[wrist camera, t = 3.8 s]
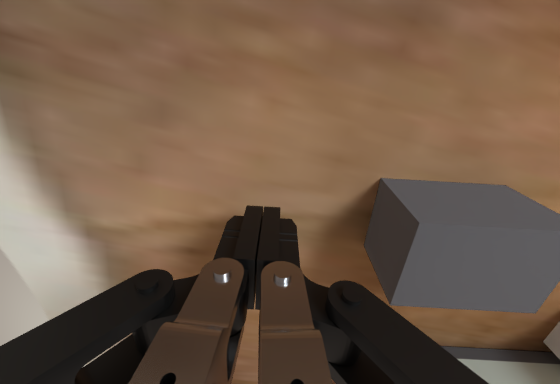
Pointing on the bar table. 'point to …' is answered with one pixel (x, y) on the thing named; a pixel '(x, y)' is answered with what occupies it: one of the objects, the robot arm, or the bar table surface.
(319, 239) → the bar table surface
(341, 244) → the bar table surface
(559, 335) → the charger
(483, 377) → the strip
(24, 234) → the bar table surface
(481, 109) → the bar table surface
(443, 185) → the plug
